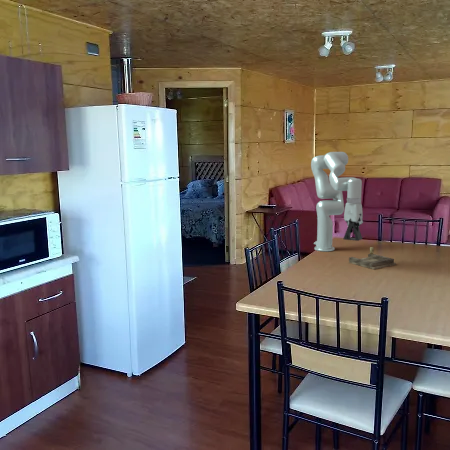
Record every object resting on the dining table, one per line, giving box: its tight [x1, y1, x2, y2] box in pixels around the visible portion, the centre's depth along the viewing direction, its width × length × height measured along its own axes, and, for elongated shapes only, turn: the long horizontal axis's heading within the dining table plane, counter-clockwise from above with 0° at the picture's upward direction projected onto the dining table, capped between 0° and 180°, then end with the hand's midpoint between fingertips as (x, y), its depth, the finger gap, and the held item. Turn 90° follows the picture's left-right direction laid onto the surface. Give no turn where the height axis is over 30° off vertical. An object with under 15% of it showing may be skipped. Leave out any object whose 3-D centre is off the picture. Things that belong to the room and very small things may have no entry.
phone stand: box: [343, 219, 363, 242], centre depth 265 cm, size 9×6×12 cm, turn 56°
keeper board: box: [348, 246, 397, 270], centre depth 266 cm, size 18×18×7 cm
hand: (353, 233), depth 266 cm, fingers closed on phone stand, 3 cm apart
